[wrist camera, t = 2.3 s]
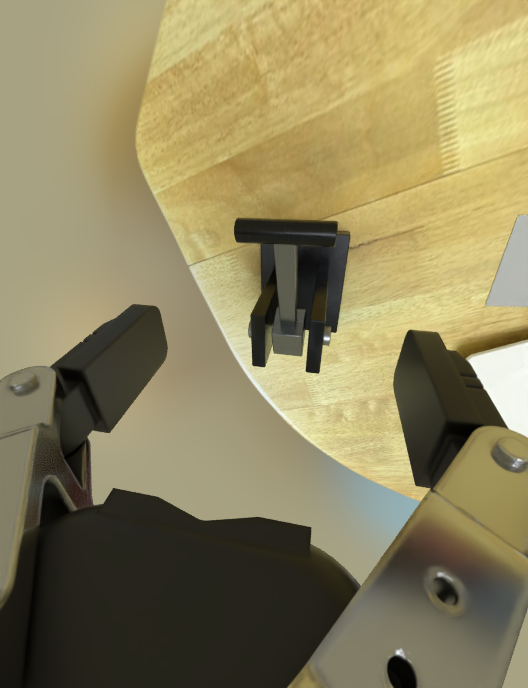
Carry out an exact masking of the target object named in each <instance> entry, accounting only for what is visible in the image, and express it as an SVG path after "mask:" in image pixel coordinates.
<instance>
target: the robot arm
mask: <svg viewBox="0 0 528 688" xmlns="http://www.w3.org/2000/svg"><path fill="white" fill-rule="evenodd" d="M167 349H168V347H167V341H166V336H165V332H164V327H163V323H162V318H161V314H160V311H159V309H158V308H157V307H156V306H148V305H137V304H133V305H131V306H130V307H129V308H128V309H126V310H125V311H124V312H123V313H121V314H120V315H119V316H118V317H117V318H115V319H113V320H110V321H108V322H106V323H104V324H103V325H101V326H100V327H99V328H98V329H97V330H95V331H94V332H93V334H92V335H91V334H90V335H89V336H88V337H86V338H85V339H84V341H83V342H80V343H79V344H78V345H76V346H75V347H74V348H73V349H72V350H70V351H69V352H68V353H67V354H65V355H64V356H63V357H62V358H60V359H59V360H58V361H57V362H55V363H54V364H53V365H52V366H51V367H47V366H34V367H28V368H24V369H21V370H18V371H16V372H13V373H11V374H9V375H7V376H5V377H4V378H2V379H1V380H0V688H502V686H503V683H504V680H505V676H506V673H507V670H508V667H509V664H510V661H511V658H512V655H513V652H514V648H515V646H516V643H517V639H518V636H519V633H520V630H521V627H522V624H523V621H524V617H525V615H526V612H527V608H528V438H527V437H526V436H524V435H522V434H520V433H518V432H515V431H513V430H510V429H509V428H508V427H507V425H506V423H505V422H504V420H503V418H502V417H501V415H500V413H499V411H498V410H497V408H496V406H495V405H494V403H493V401H492V400H491V398H490V396H489V395H488V393H487V391H486V390H484V386H483V384H482V383H481V381H480V379H479V378H477V374H476V372H475V371H474V369H473V367H472V366H471V364H470V363H469V362H468V361H467V360H466V359H465V358H463V357H462V356H461V355H460V354H458V353H457V352H456V351H451V350H447V349H446V347H445V345H444V343H443V341H442V339H441V337H440V335H439V334H438V333H437V332H429V331H418V330H409V331H408V332H407V334H406V336H405V339H404V343H403V346H402V349H401V353H400V356H399V359H398V363H397V366H396V369H395V373H394V382H393V386H394V393H395V398H396V402H397V407H398V411H399V415H400V420H401V424H402V429H403V433H404V437H405V442H406V446H407V451H408V455H409V459H410V464H411V468H412V473H413V477H414V482H415V486H420V487H426V488H431V489H430V490H429V491H428V493H427V494H426V495H425V497H424V498H423V500H422V501H421V502H420V504H419V505H418V507H417V508H416V509H415V511H414V512H413V514H412V515H411V517H410V518H409V519H408V521H407V522H406V524H405V525H404V527H403V528H402V529H401V531H400V532H399V534H398V535H397V536H396V538H395V539H394V541H393V542H392V544H391V545H390V546H389V548H388V549H387V550H386V552H385V553H384V555H383V556H382V557H381V559H380V560H379V562H378V563H377V565H376V566H375V567H374V569H373V570H372V572H371V573H370V574H369V576H368V577H367V579H366V580H365V582H364V583H363V584H362V586H360V584H359V583H358V582H357V580H356V579H355V578H354V577H353V576H352V575H351V574H350V573H349V572H348V571H347V570H346V569H345V568H344V567H343V566H342V565H341V564H340V563H339V562H337V561H336V560H335V559H334V558H333V557H331V556H330V555H328V554H327V553H325V552H324V551H322V550H321V549H319V548H317V547H315V546H313V545H311V544H310V541H311V527H307V526H302V525H297V524H292V523H286V522H281V521H277V520H272V519H266V518H261V517H251V518H238V519H224V520H211V521H203V520H199V519H197V518H195V517H194V516H192V515H190V514H188V513H186V512H185V511H183V510H181V509H179V508H177V507H175V506H173V505H172V504H170V503H168V502H166V501H164V500H163V499H161V498H159V497H156V496H151V495H145V494H140V493H136V492H130V491H125V490H120V489H115V488H113V490H112V491H111V493H110V494H109V496H108V497H107V499H106V501H105V502H104V504H99V505H93V500H92V488H91V487H92V486H91V453H90V441H89V439H88V437H87V436H88V435H89V434H90V433H91V431H92V430H94V431H99V432H105V433H110V432H111V430H112V429H113V428H114V427H115V425H116V424H117V423H118V421H119V420H120V419H121V418H122V416H123V415H124V414H125V412H126V411H127V410H128V408H129V407H130V406H131V404H132V403H133V402H134V400H135V399H136V398H137V397H138V395H139V394H140V393H141V391H142V390H143V389H144V387H145V386H146V385H147V383H148V382H149V381H150V380H151V378H152V377H153V376H154V374H155V373H156V372H157V370H158V369H159V368H160V366H161V365H162V364H163V362H164V361H165V359H166V355H167Z"/></svg>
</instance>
